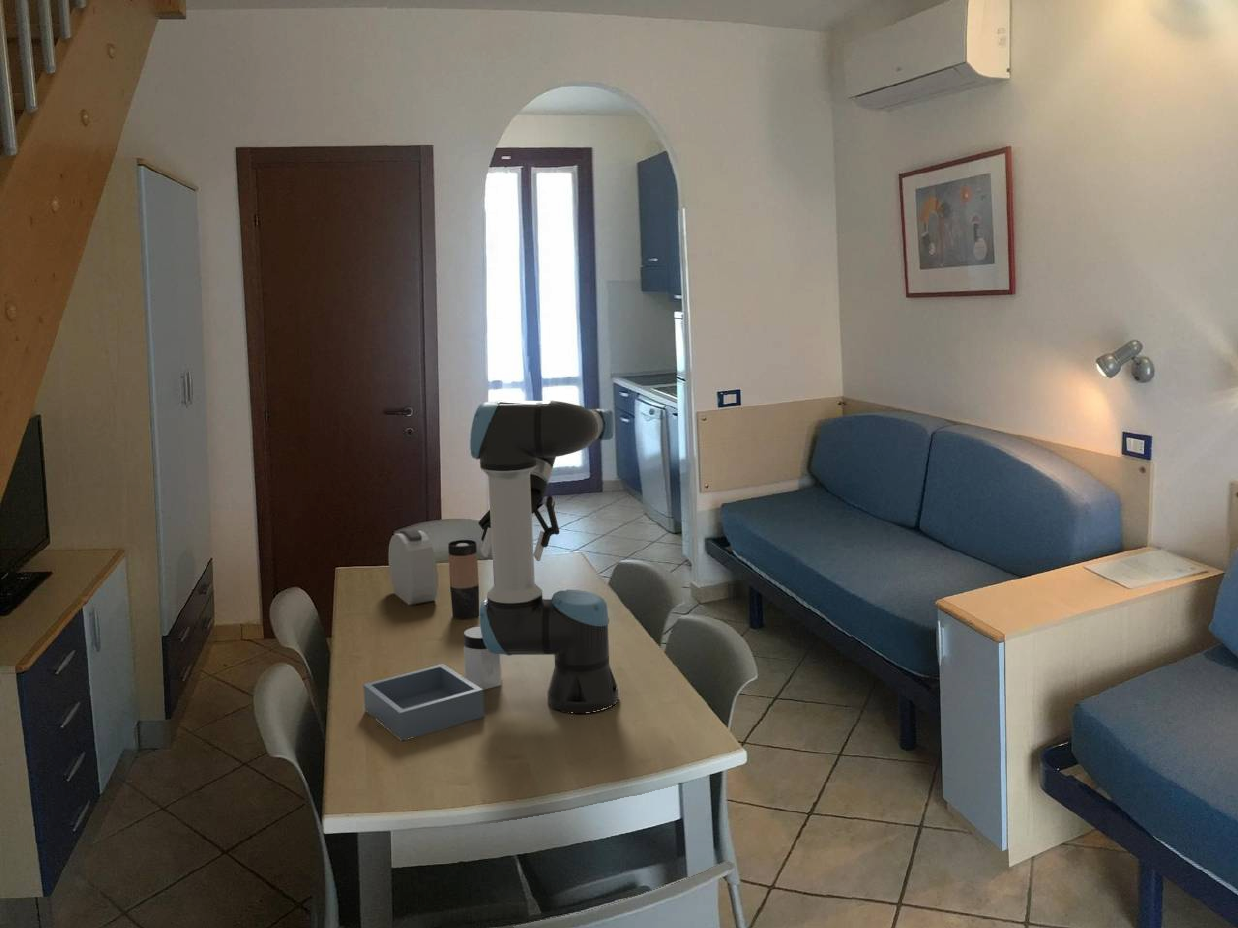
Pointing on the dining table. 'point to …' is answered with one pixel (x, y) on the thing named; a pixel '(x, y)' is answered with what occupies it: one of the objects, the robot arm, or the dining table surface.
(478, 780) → the dining table surface
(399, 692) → the bin
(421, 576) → the alarm clock
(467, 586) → the travel mug
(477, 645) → the jar
